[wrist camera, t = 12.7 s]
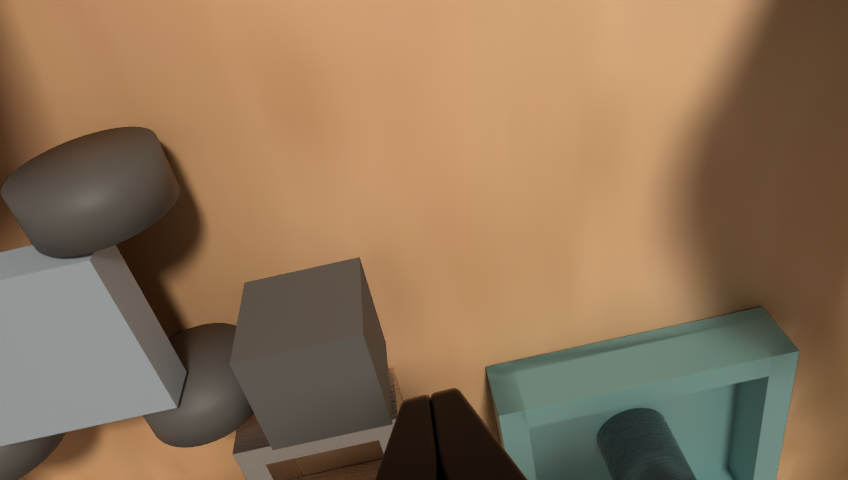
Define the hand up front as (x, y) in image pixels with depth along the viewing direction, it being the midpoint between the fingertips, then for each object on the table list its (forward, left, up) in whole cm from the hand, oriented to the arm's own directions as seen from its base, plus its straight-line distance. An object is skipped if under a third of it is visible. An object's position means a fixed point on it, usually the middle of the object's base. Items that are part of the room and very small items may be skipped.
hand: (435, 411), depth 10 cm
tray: (-7, +16, -12) cm, 21 cm away
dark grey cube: (+4, +7, -12) cm, 15 cm away
